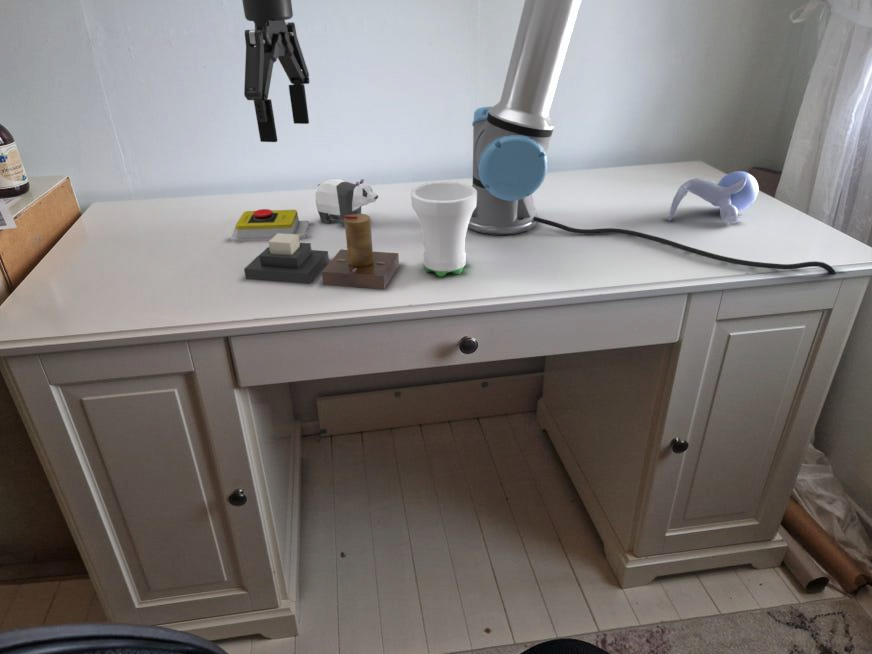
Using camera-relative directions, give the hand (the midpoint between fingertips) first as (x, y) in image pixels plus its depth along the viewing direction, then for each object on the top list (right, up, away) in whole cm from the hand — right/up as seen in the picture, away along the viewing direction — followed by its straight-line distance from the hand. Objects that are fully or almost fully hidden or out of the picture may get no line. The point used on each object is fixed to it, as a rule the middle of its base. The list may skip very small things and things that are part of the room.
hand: (286, 132), depth 110 cm
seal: (+85, -10, +23) cm, 89 cm away
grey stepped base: (-1, -23, +5) cm, 24 cm away
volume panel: (+13, -25, +2) cm, 28 cm away
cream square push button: (-1, -20, +3) cm, 21 cm away
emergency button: (-8, -14, +21) cm, 26 cm away
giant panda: (+7, -11, +25) cm, 28 cm away
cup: (+28, -24, +4) cm, 37 cm away
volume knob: (+13, -23, +1) cm, 26 cm away
